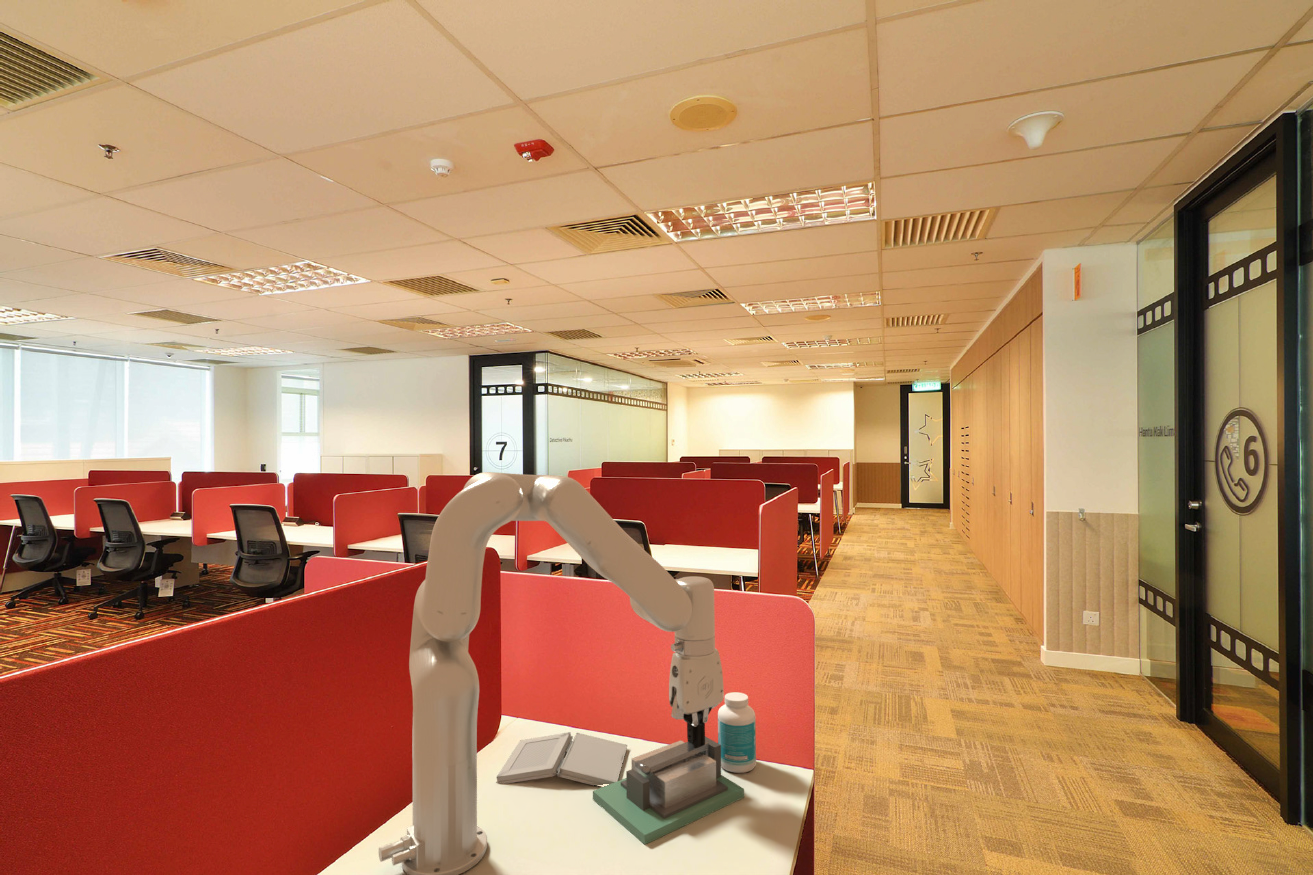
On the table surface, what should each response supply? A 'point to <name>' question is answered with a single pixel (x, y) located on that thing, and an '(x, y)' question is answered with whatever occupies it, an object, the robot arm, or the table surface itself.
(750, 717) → the pill bottle
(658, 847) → the table surface
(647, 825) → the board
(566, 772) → the gadget
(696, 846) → the table surface
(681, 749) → the strap
